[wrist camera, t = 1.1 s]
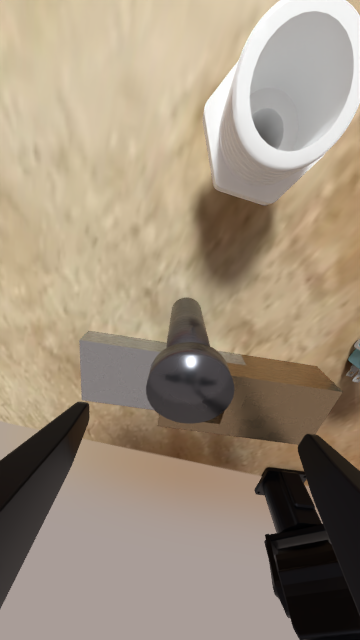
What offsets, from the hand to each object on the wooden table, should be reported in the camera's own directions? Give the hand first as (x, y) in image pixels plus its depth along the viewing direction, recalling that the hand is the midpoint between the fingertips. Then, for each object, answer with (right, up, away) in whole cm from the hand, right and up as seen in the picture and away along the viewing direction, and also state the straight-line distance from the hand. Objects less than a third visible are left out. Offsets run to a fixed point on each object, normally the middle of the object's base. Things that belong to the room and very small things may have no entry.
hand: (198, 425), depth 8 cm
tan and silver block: (+1, -3, +15) cm, 16 cm away
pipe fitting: (+4, +17, +7) cm, 19 cm away
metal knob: (0, +5, +12) cm, 13 cm away
